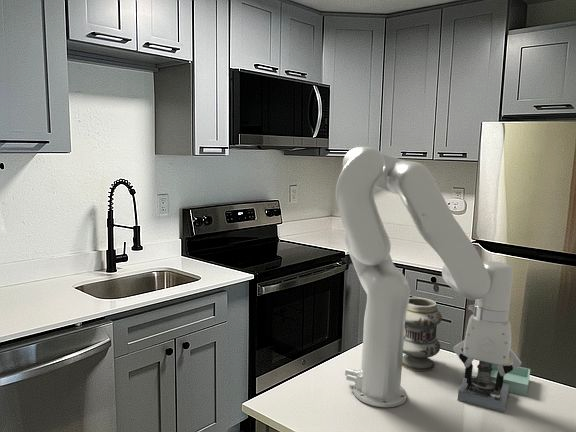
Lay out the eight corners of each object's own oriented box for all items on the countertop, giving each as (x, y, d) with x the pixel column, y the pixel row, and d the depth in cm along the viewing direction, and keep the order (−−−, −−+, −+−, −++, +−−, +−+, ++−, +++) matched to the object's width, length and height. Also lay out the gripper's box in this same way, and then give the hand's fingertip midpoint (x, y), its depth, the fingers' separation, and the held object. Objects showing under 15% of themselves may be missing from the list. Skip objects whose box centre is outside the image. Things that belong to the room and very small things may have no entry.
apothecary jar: (406, 351, 147) (410, 292, 144) (445, 363, 139) (451, 301, 137) (386, 363, 138) (390, 301, 135) (427, 377, 130) (432, 311, 128)
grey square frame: (457, 400, 119) (458, 390, 118) (464, 383, 128) (465, 373, 127) (504, 412, 114) (505, 402, 114) (508, 393, 123) (509, 384, 123)
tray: (481, 385, 127) (482, 374, 126) (487, 370, 136) (488, 359, 136) (526, 396, 122) (527, 384, 122) (529, 379, 131) (530, 369, 131)
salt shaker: (488, 391, 124) (493, 345, 122) (499, 403, 118) (504, 355, 116) (465, 390, 124) (469, 344, 122) (474, 402, 118) (479, 354, 116)
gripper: (450, 310, 119) (443, 381, 121) (530, 326, 111) (520, 402, 113) (456, 302, 125) (449, 370, 128) (531, 317, 117) (522, 388, 120)
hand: (483, 384), depth 120 cm, fingers closed on salt shaker, 5 cm apart
